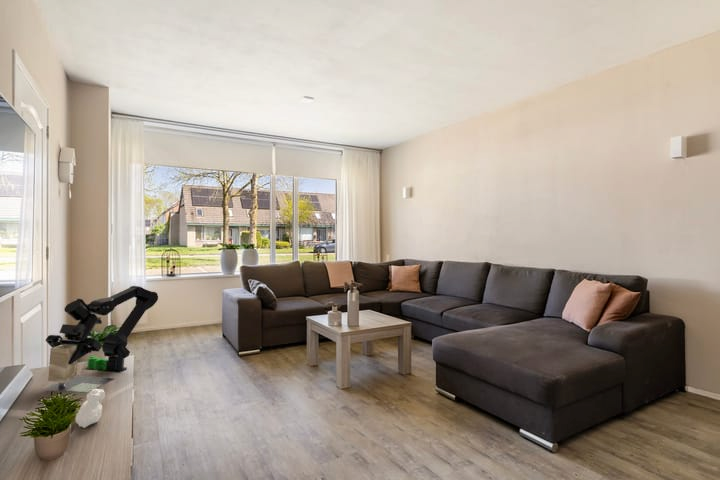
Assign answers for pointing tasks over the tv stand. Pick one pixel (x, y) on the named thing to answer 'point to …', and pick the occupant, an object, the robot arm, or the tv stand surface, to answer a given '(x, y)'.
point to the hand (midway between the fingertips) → (60, 363)
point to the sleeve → (62, 363)
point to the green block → (97, 363)
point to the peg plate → (80, 384)
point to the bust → (90, 408)
